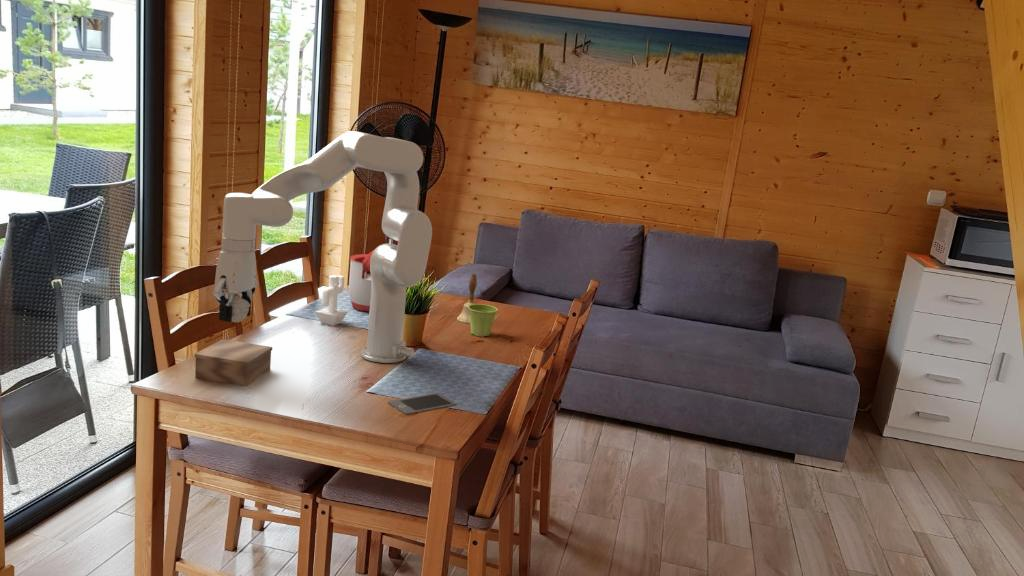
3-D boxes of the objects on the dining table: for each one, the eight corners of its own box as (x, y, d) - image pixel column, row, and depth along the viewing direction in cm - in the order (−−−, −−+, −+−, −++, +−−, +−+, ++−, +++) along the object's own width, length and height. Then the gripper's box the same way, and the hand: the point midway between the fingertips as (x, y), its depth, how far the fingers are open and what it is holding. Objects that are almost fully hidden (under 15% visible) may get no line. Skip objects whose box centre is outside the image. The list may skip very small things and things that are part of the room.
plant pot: (494, 340, 255) (497, 313, 253) (464, 336, 255) (467, 309, 253) (495, 331, 264) (498, 306, 262) (466, 328, 264) (469, 302, 262)
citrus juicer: (343, 313, 265) (347, 253, 260) (348, 300, 282) (353, 243, 277) (391, 317, 267) (396, 257, 262) (394, 304, 283) (399, 247, 279)
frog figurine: (217, 318, 199) (219, 290, 198) (247, 318, 202) (249, 291, 201) (221, 325, 194) (222, 297, 192) (251, 325, 197) (253, 297, 196)
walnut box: (271, 369, 207) (272, 347, 206) (246, 386, 194) (247, 362, 193) (221, 361, 209) (222, 339, 207) (193, 377, 196) (194, 353, 194)
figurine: (312, 323, 250) (315, 276, 246) (329, 317, 258) (332, 271, 255) (332, 328, 247) (336, 280, 244) (349, 321, 256) (352, 275, 253)
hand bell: (454, 316, 277) (458, 270, 273) (477, 317, 279) (482, 271, 276) (459, 323, 269) (464, 276, 265) (484, 324, 272) (489, 277, 268)
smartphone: (437, 394, 204) (438, 392, 204) (457, 406, 198) (457, 403, 198) (386, 404, 194) (386, 401, 194) (405, 416, 188) (405, 413, 188)
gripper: (247, 238, 203) (244, 308, 207) (200, 247, 187) (197, 322, 191) (273, 243, 201) (269, 313, 205) (228, 252, 185) (224, 328, 189)
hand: (234, 317), depth 198 cm, fingers closed on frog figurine, 6 cm apart
